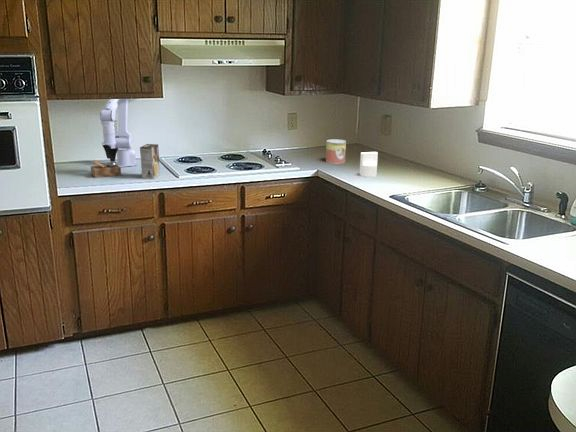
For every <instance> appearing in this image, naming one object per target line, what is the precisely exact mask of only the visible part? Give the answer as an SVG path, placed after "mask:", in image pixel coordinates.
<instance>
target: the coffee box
mask: <svg viewBox="0 0 576 432" xmlns="http://www.w3.org/2000/svg"><path fill="white" fill-rule="evenodd" d="M139 151H140V152H139V153H140V168H141V178H142V179H147V180H153V179H156V178H157V177H159V176H160V175H161V171H160V170H161V168H160V153H159V151H160V150H159V144H157V143H155V144H154V143H153V144H152V143H146V144H144V145H142V146H141V147H140V148H139Z"/></svg>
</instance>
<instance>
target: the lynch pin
mask: <svg viewBox="0 0 576 432" xmlns="http://www.w3.org/2000/svg"><path fill="white" fill-rule="evenodd" d="M106 165H107V167H117V161H113V162H111V161H107V162H106Z"/></svg>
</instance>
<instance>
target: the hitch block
mask: <svg viewBox="0 0 576 432" xmlns="http://www.w3.org/2000/svg"><path fill="white" fill-rule="evenodd" d="M103 165H104V167H102V166H100V165H98V164H96V165H91V166H90V172H91V173H90V174H91V175H92V176H93V177H94V178H95V179H97V178H107V177H109V178H110V177H116V176H122V168H121V167H119V166H118V165H117V167H107V164H103Z"/></svg>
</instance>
